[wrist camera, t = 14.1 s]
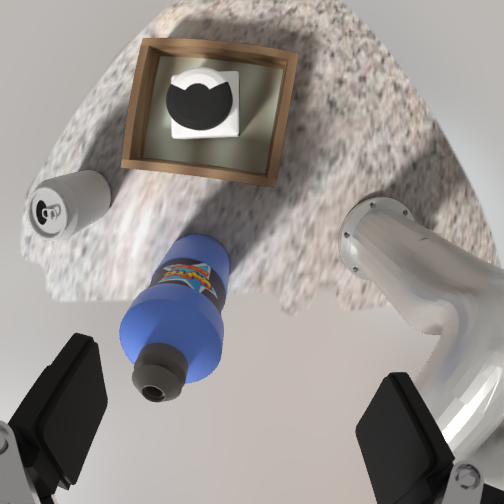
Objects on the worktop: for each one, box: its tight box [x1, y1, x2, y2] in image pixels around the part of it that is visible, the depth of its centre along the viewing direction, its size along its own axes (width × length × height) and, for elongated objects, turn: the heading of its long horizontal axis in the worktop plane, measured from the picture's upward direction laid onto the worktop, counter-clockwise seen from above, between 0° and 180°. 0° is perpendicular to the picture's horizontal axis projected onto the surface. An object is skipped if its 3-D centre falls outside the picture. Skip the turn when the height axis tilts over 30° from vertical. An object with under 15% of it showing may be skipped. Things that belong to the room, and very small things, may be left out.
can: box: [27, 170, 111, 242], centre depth 34 cm, size 8×8×12 cm
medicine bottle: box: [166, 67, 240, 139], centre depth 30 cm, size 7×7×12 cm
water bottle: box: [119, 234, 230, 402], centre depth 31 cm, size 9×9×25 cm
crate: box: [121, 38, 299, 188], centre depth 33 cm, size 18×16×6 cm
